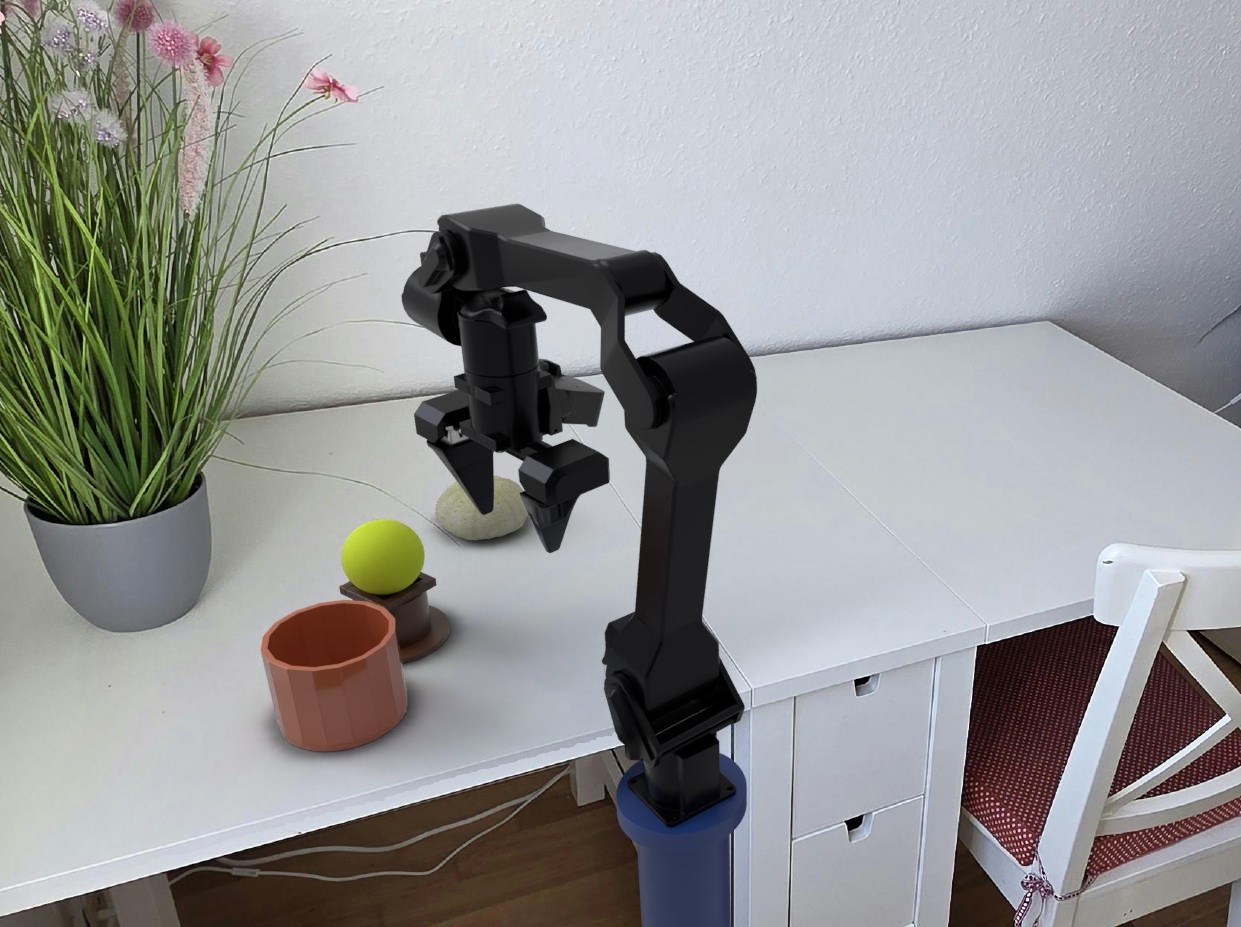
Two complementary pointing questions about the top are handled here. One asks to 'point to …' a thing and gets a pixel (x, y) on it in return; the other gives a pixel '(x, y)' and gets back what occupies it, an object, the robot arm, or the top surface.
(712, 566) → the top surface
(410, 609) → the ball stand
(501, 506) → the sea urchin shell
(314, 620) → the terracotta pot
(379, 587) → the tennis ball
